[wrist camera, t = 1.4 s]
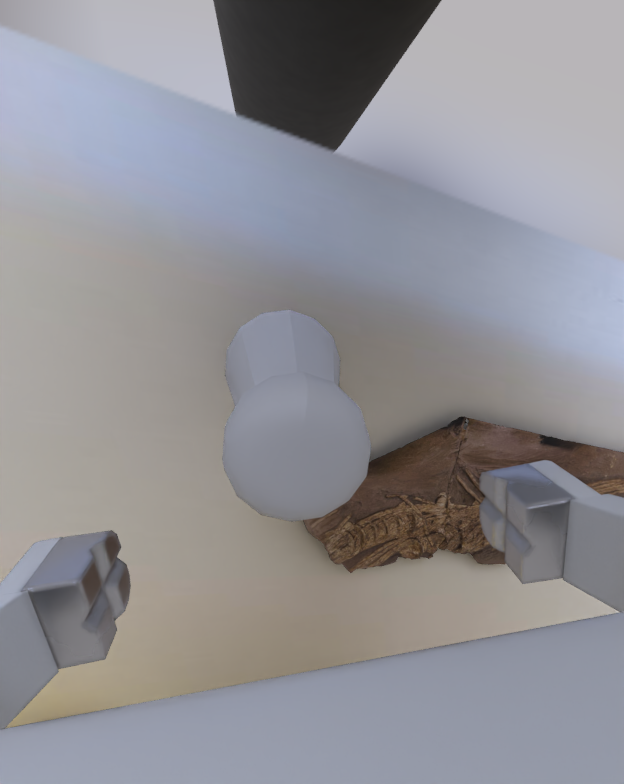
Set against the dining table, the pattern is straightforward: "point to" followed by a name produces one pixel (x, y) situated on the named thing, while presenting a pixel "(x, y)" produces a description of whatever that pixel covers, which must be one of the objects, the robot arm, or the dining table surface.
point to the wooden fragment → (446, 493)
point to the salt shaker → (291, 420)
